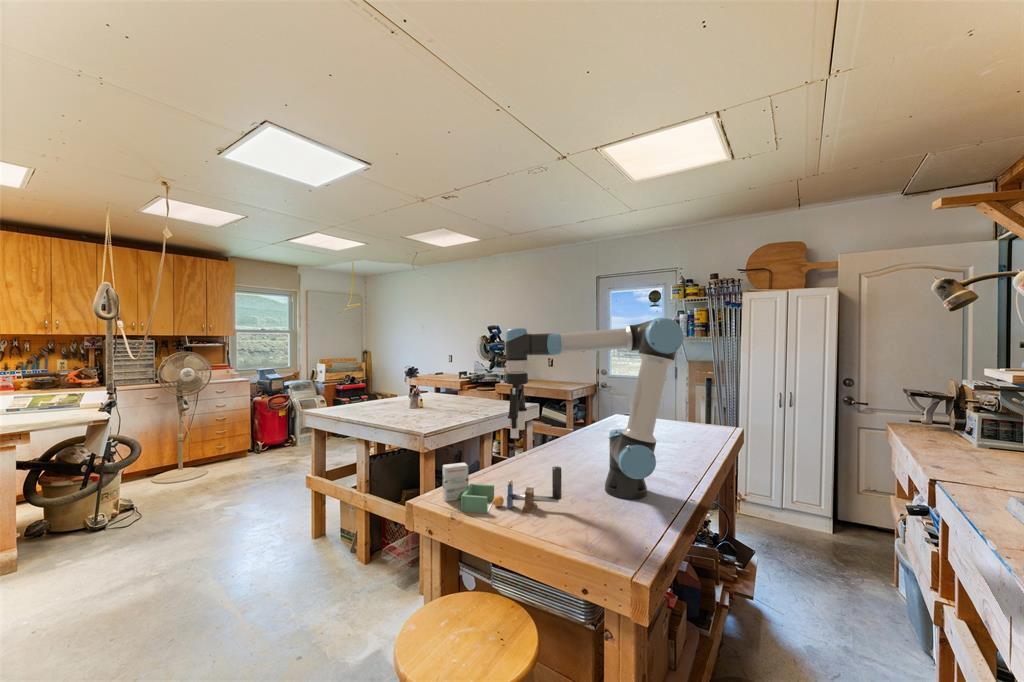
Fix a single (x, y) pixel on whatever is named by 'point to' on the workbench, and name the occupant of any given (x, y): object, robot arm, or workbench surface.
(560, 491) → the u-shaped post frame
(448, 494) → the ink box
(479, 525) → the workbench surface
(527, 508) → the bearing block
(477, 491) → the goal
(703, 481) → the workbench surface
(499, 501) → the ball
